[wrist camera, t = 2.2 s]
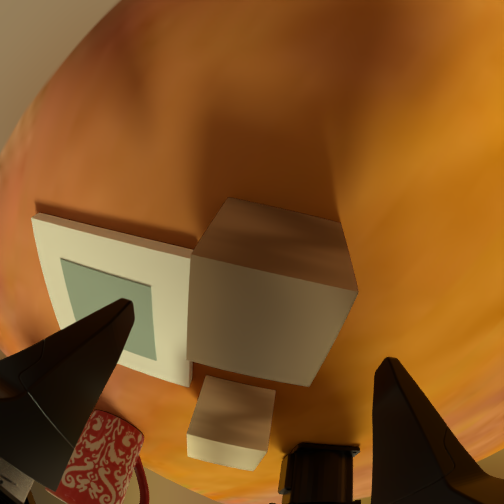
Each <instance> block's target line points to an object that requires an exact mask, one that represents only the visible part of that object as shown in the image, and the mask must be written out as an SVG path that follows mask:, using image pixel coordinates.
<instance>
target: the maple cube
mask: <svg viewBox="0 0 504 504" xmlns="http://www.w3.org/2000/svg"><path fill="white" fill-rule="evenodd" d="M275 393H276V390H271V389H266V388H261V387H256V386H251V385H246V384H242V383H237V382H233V381H229V380H225V379H220V378H216V377H213V376H209V375H206V377H205V380H204V383H203V386H202V389H201V392H200V395H199V398H198V401H197V404H196V407H195V410H194V413H193V416H192V419H191V422H190V425H189V428H188V431H187V451H188V457H191V458H195V459H199V460H203V461H206V462H211V463H215V464H219V465H223V466H228V467H233V468H238V469H243V470H249V471H254V470H255V468H256V467H257V465H258V464H259V463H260V461H261V460H262V458H263V457H264V456H265V454H266V453H267V450H268V443H269V436H270V429H271V422H272V415H273V408H274V400H275Z"/></svg>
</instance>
